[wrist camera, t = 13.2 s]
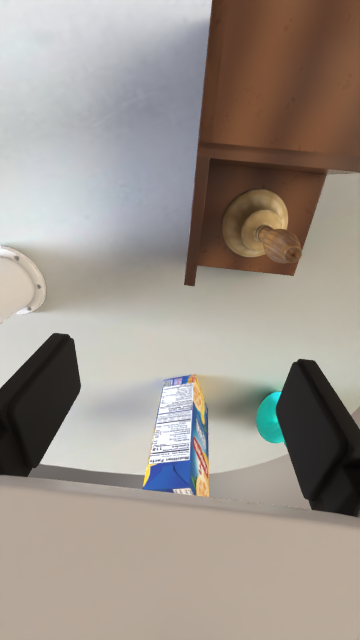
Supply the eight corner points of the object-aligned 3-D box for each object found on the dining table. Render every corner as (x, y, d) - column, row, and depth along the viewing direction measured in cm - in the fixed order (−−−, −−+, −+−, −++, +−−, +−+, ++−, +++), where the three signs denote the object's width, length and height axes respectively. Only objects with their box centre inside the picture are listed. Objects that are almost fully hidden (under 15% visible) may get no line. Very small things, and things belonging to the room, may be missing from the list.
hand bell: (222, 191, 31) (236, 200, 17) (292, 186, 30) (368, 191, 16) (221, 258, 35) (231, 309, 21) (282, 255, 34) (337, 308, 20)
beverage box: (194, 373, 52) (189, 486, 33) (207, 409, 57) (209, 525, 38) (164, 379, 53) (141, 490, 34) (179, 413, 58) (167, 527, 39)
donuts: (284, 425, 57) (298, 469, 48) (249, 407, 55) (258, 449, 47) (318, 400, 53) (340, 444, 44) (281, 379, 51) (297, 420, 42)
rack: (190, 255, 40) (184, 285, 29) (214, 17, 27) (222, -101, 16) (284, 265, 39) (316, 299, 28) (355, 27, 26) (468, -87, 15)
